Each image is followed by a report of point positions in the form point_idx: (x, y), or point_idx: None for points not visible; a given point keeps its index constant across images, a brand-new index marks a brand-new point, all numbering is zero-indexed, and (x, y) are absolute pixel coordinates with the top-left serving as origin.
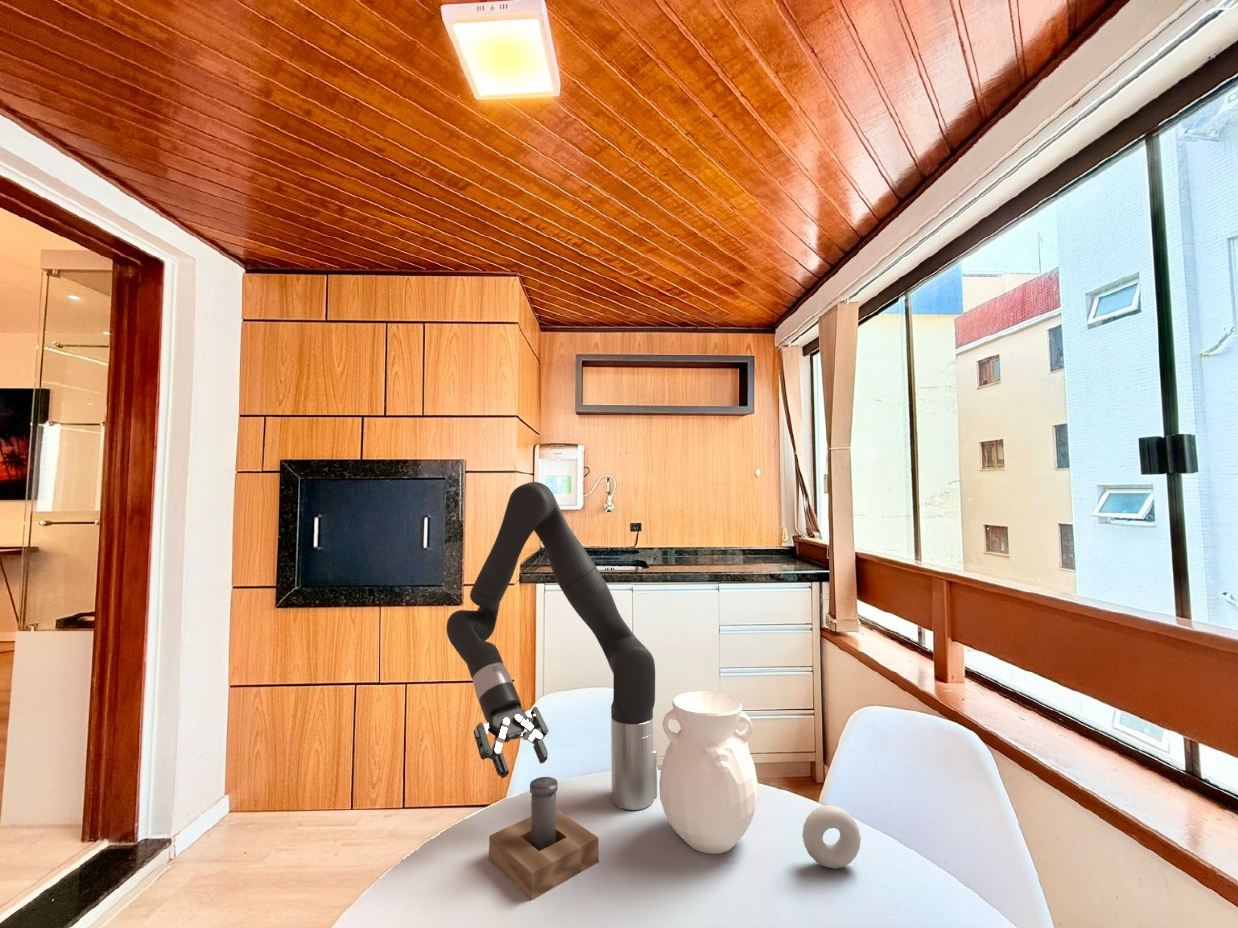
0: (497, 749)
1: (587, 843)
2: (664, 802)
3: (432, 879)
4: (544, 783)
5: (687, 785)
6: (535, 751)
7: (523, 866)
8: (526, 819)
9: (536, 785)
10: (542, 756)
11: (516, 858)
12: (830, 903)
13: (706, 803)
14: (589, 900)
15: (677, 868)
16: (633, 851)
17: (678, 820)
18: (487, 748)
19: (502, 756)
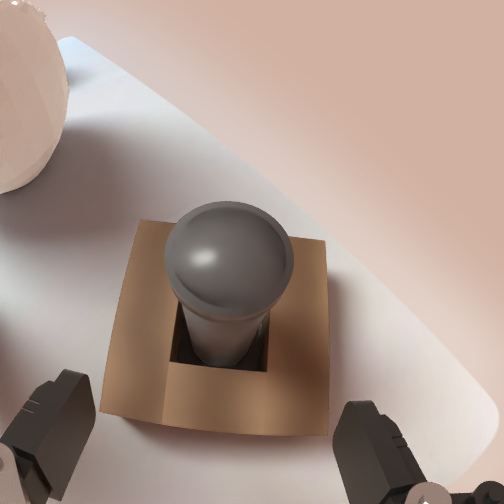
0: (435, 499)
1: (172, 223)
2: (33, 133)
3: (417, 443)
4: (227, 251)
5: (52, 54)
6: (71, 473)
7: (326, 272)
8: (200, 426)
9: (264, 265)
10: (80, 396)
11: (325, 302)
12: (91, 65)
13: (62, 59)
14: (239, 198)
15: (98, 154)
16: (89, 219)
17: (58, 120)
18: (500, 497)
19: (389, 469)
